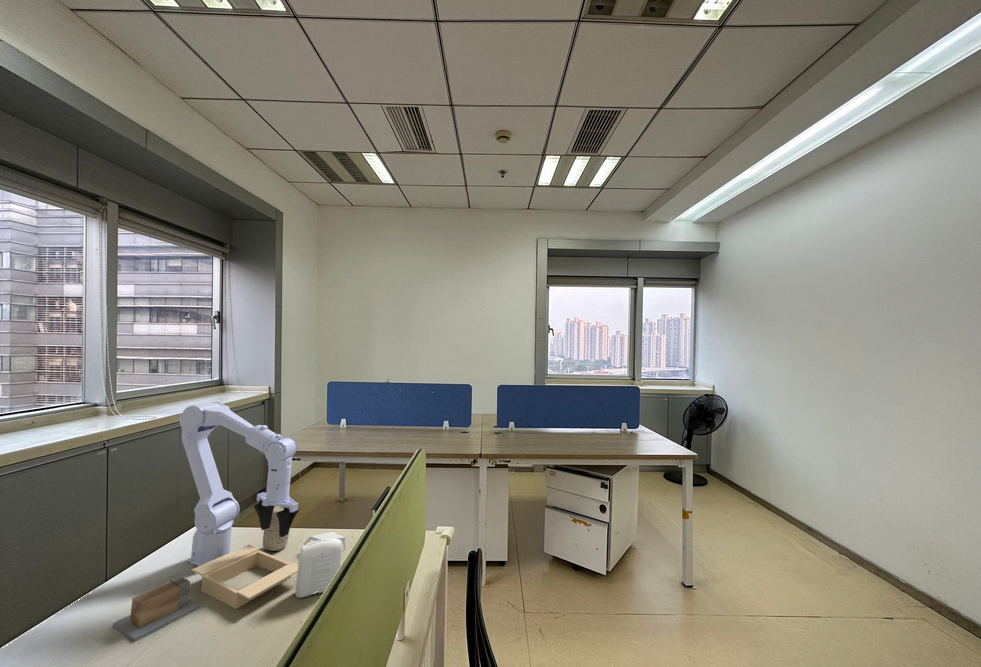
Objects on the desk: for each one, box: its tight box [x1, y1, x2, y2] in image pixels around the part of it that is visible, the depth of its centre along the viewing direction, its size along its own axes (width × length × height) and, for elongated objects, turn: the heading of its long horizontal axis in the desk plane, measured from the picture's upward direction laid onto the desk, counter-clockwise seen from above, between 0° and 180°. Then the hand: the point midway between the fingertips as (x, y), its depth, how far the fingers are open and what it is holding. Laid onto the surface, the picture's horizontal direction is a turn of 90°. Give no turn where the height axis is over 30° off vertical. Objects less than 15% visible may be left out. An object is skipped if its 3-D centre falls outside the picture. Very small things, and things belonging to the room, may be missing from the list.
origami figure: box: [303, 531, 346, 552], centre depth 116 cm, size 12×8×5 cm
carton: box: [191, 544, 298, 610], centre depth 99 cm, size 22×15×4 cm, turn 65°
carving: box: [262, 506, 291, 552], centre depth 117 cm, size 6×8×12 cm
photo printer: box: [295, 539, 343, 598], centre depth 99 cm, size 10×4×12 cm, turn 123°
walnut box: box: [130, 575, 191, 628], centre depth 86 cm, size 4×9×5 cm, turn 155°
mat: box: [112, 598, 201, 643], centre depth 86 cm, size 9×12×1 cm
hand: (274, 532), depth 108 cm, fingers open, 7 cm apart
